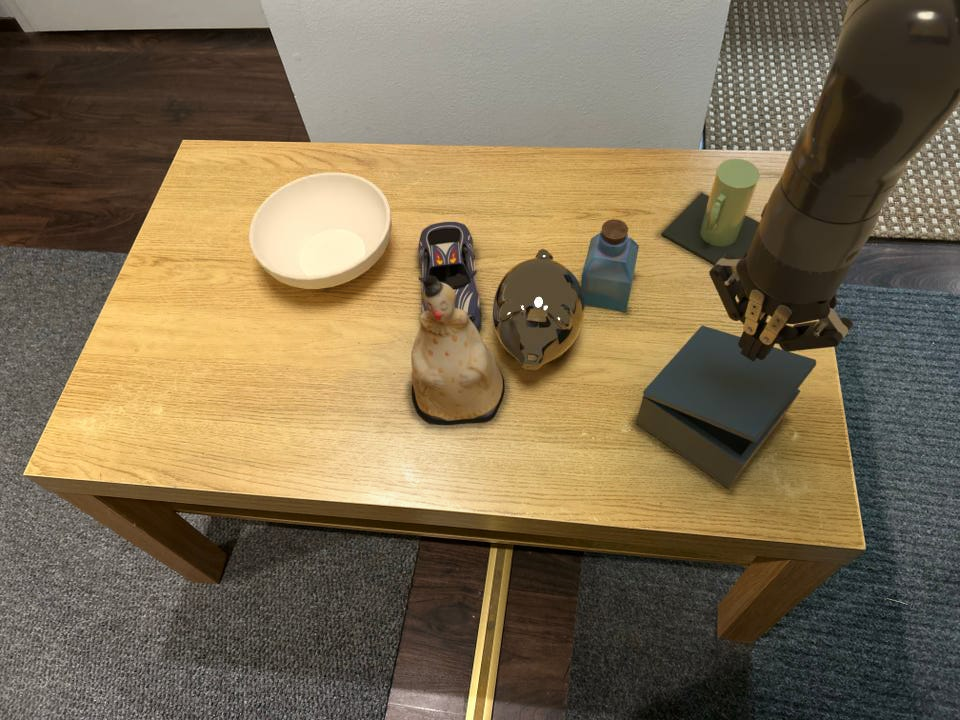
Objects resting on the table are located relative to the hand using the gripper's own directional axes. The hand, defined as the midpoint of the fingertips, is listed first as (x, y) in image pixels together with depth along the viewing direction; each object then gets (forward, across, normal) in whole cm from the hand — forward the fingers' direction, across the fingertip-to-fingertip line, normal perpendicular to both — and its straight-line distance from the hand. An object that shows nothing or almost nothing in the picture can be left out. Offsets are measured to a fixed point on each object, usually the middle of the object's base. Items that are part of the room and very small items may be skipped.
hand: (751, 351), depth 67 cm
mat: (+16, +16, -26) cm, 34 cm away
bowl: (+17, +56, +12) cm, 60 cm away
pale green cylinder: (+16, +16, -26) cm, 34 cm away
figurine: (+17, +27, +16) cm, 35 cm away
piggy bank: (+17, +24, +4) cm, 29 cm away
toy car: (+17, +39, +5) cm, 43 cm away
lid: (+7, +1, 0) cm, 7 cm away
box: (+16, +1, 0) cm, 16 cm away
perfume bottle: (+17, +22, -8) cm, 29 cm away
